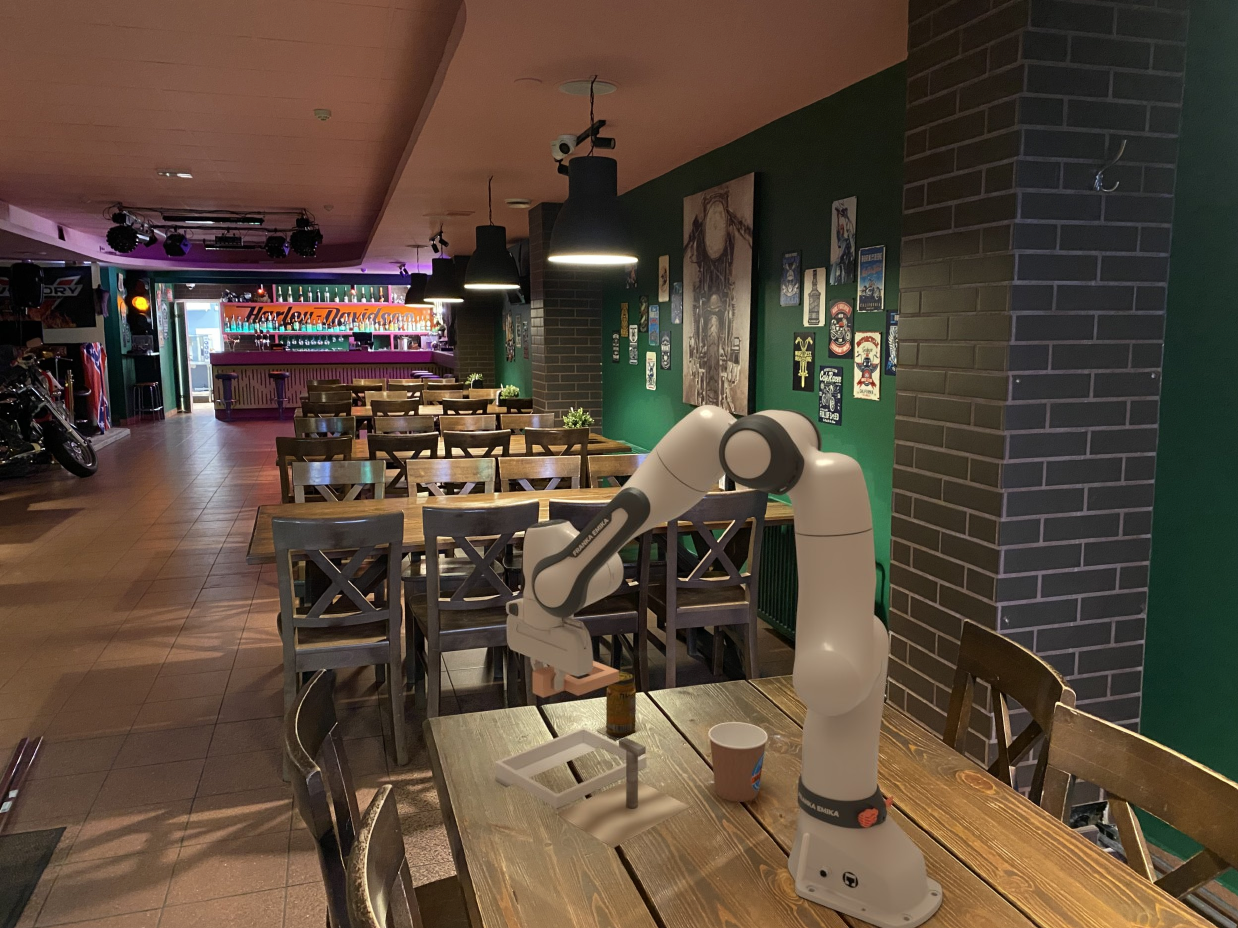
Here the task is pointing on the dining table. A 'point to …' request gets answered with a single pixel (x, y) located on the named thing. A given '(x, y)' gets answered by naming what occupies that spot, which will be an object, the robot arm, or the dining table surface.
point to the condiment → (620, 708)
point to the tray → (555, 754)
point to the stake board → (623, 805)
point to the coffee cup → (737, 759)
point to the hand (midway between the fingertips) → (549, 685)
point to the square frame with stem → (574, 680)
